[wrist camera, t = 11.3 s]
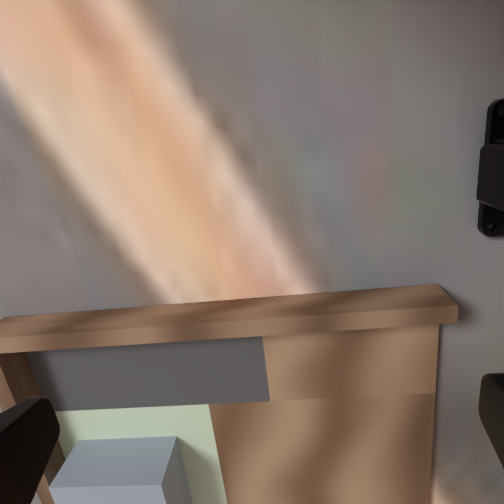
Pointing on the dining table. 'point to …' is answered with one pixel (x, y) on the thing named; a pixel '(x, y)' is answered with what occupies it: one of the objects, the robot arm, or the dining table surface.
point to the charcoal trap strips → (153, 374)
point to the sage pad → (156, 425)
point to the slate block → (123, 473)
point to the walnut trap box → (287, 387)
